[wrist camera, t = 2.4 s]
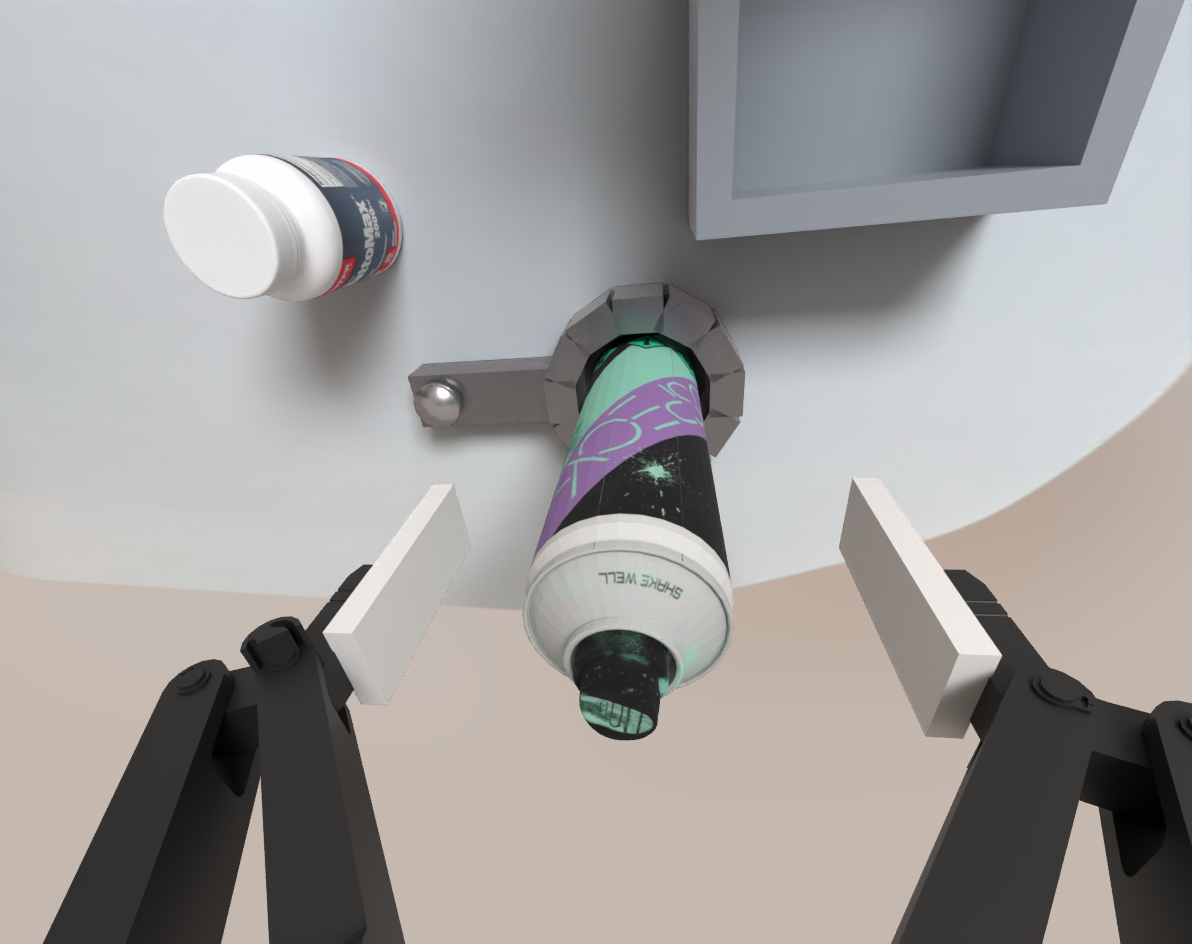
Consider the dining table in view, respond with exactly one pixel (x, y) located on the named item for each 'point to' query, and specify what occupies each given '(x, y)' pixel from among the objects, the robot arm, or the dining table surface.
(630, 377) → the spray can
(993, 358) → the dining table surface
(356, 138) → the dining table surface
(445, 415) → the socket ring
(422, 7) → the dining table surface
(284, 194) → the pill bottle
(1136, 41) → the bin
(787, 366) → the dining table surface
